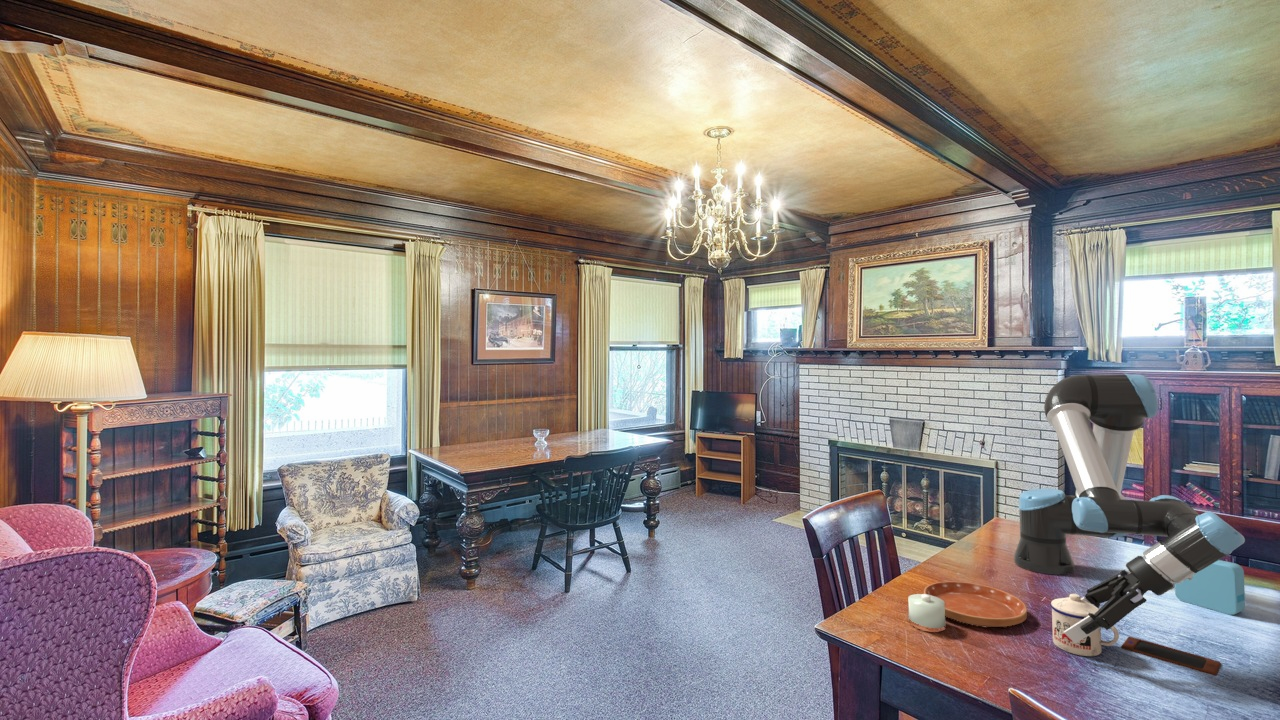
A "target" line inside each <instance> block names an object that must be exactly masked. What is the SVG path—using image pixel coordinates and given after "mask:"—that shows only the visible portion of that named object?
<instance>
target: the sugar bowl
mask: <svg viewBox="0 0 1280 720" xmlns="http://www.w3.org/2000/svg"><path fill="white" fill-rule="evenodd" d="M907 599H908V620H909V619H910V620H911V621H912V622H914V623H916V624H919V625H921V626H924V627H929V628H942V627H944V626H945V627H946V617H945V602H944V601H943V600H942V599H940V598H938V597H935V596H932V595H928V594H924V593H916V594H915V593H914V594H911V595H908V597H907Z"/></svg>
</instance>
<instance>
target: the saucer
mask: <svg viewBox="0 0 1280 720" xmlns="http://www.w3.org/2000/svg"><path fill="white" fill-rule="evenodd" d="M923 594H928V595H932V596H935V597H938V598H940V599H942V600H943V601H944V602H945V616H947V617H949V618H952V619H955V620H958V621H961V622H964V623H968V624H973V625H978V626H986V627H985V628H987V627H1004V628H1008V627H1007V626H1009V627H1012V625H1013V626H1015V625H1020V624H1022V623H1023V622H1025V621H1026V619H1027V617H1028V609H1027V605H1026V604H1025V603H1024V601H1022V600H1021V599H1020V598H1018V597H1017V596H1015V595H1014V594H1011V593H1009V592H1007V591H1004V590H1001V589H999V588H995V587H992V586H989V585H988V586H987V585H984V584H979V583H975V582H967V581H950V580H949V581H938V582H934V583H931V584H929V585H927V586H925V587H924V589H923ZM947 617H946V618H947ZM949 618H948V619H949ZM952 619H951V620H952ZM955 620H954V621H955ZM958 621H957V622H958ZM961 622H960V623H961ZM964 623H963V624H964ZM968 624H967V625H968ZM973 625H972V626H973ZM978 626H977V627H978Z"/></svg>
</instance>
